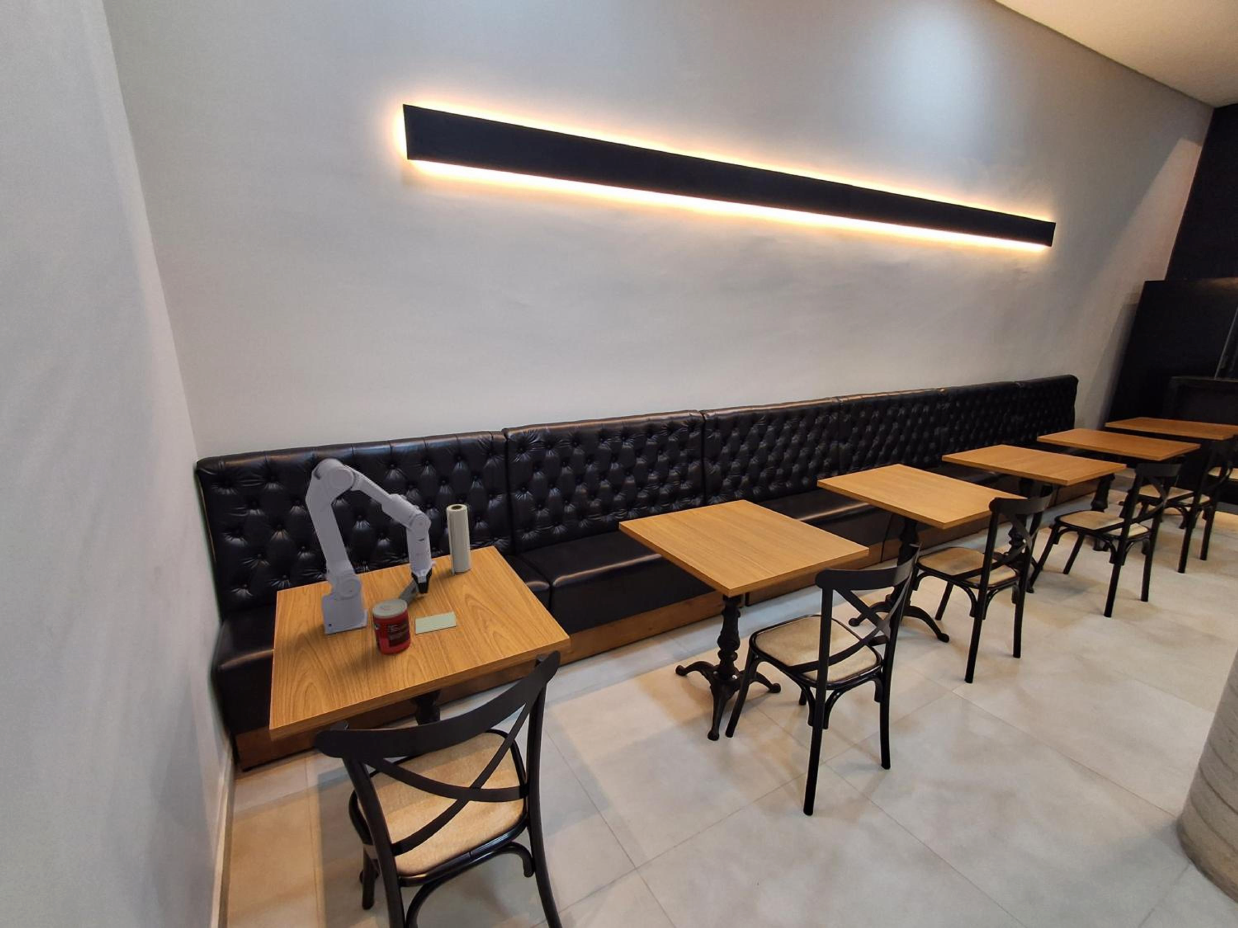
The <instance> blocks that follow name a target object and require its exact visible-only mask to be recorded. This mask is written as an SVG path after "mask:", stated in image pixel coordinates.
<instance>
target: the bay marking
mask: <svg viewBox="0 0 1238 928" xmlns="http://www.w3.org/2000/svg"><path fill="white" fill-rule="evenodd" d="M456 621H457V620H456V616H455V611H451V612H445V613H440V614H435V615H430V616H425V617H420V618H415V620H414V622H415V635H420V634H426V633H430V632H434V631H440V630H444V629H450V628H453V627H457V622H456Z"/></svg>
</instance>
